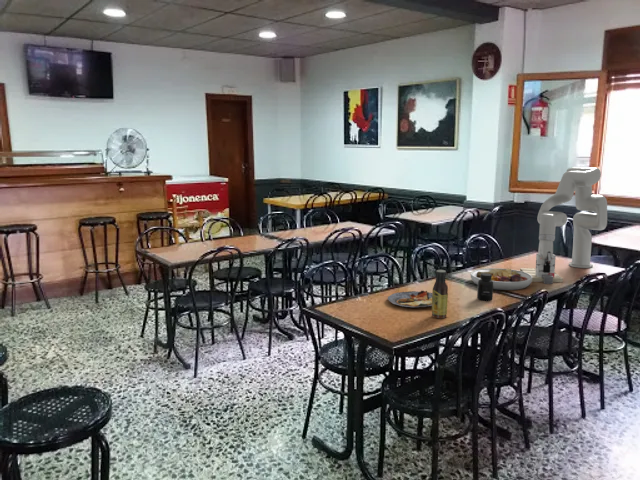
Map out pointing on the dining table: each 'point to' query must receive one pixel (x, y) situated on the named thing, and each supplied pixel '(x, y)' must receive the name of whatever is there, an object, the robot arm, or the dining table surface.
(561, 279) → the birch board
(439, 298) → the sauce bottle
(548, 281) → the grey mark
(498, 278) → the bowl
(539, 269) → the ink box
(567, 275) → the dining table surface
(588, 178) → the robot arm
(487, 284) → the supplement bottle
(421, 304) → the food plate
